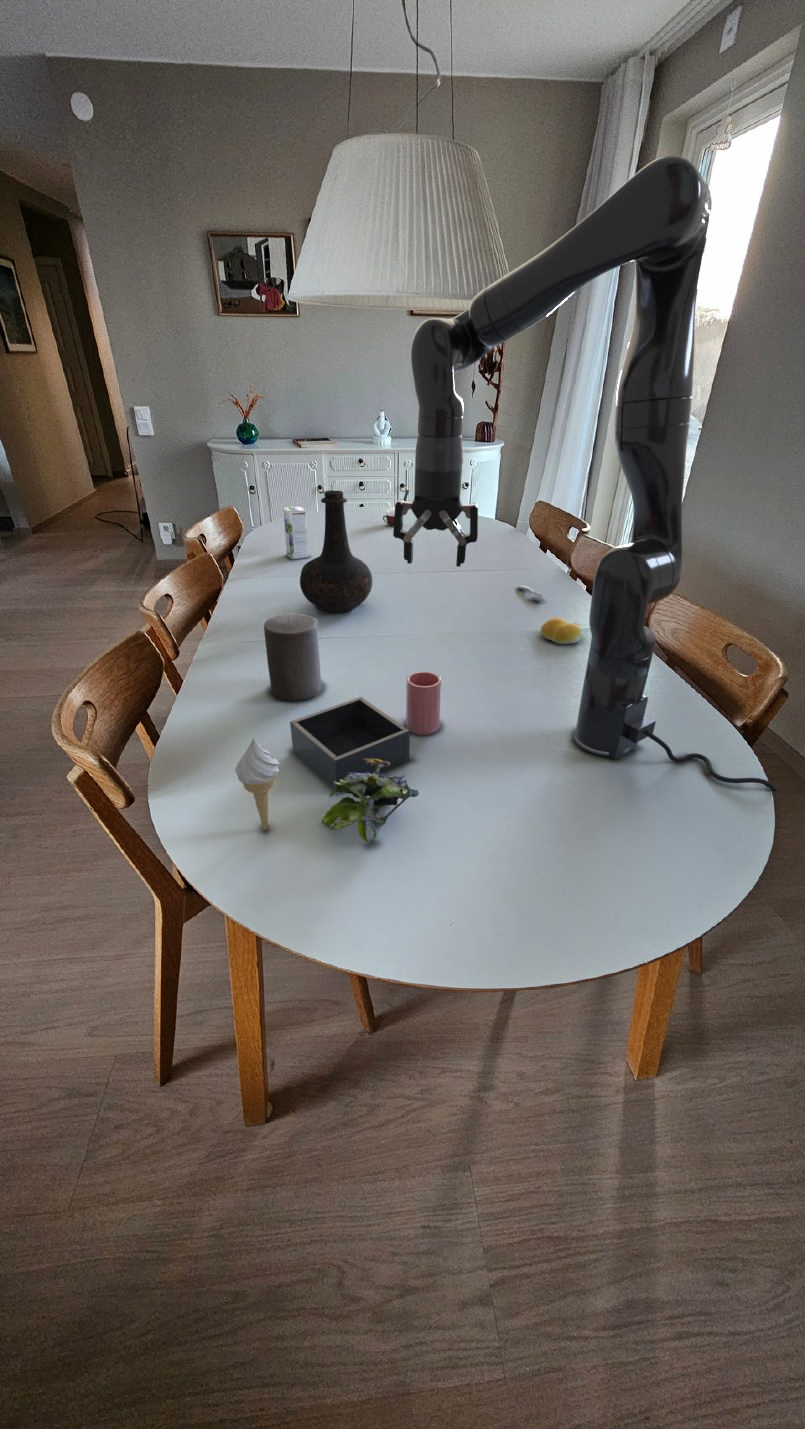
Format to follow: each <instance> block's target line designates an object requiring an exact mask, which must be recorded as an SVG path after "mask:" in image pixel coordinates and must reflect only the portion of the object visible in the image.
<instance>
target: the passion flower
mask: <svg viewBox="0 0 805 1429" xmlns="http://www.w3.org/2000/svg"><path fill="white" fill-rule="evenodd" d="M363 762H365V763H367V764H368V765H375V767H376V772H375V773H374V772H373V774H369V773H368V772H366V773H367V774H365V773H362V774H360V773H357V772H356V773H355V772H353V773H350V772H349V774H350V775H347V777H346V778H344V779H345V780H346V781H344V780H342V779H341V780H340V784H339V783H337V782H334V785H335V787H336V788H335V789H334V788H333V789H332V790H331V791H330V792H329V794H328V798H329V799H330V798H332V797H334V796H339V795H344V794H348V795H352V796H353V798H352V797H350V796H348V795H347V796H344V797H342V798H341V799H340V800H339V801H338V802H336V803H335V804H333V805H332V806H331V807H330V808H329V810H327V811H326V813H325V814H324V816H323V818H322V819H321V824H322V825H324V826H325V827H328V828H329V829H330V830H332V831H338V830H342V829H343V828H346V827H349V826H350V825H352V824H355V823H357V825H356V828H357V831H358V834H359V836H360V838H361V839H362V840H363V841H364V842H365V843H368V841H369V838H368V833H367V826H368V823H370V829H371V830H372V832H373V835H372V839H371V841H370V843H369V845H373V844H374V842H375V840H376V838H377V835H378V833H379V831H380V830H381V828H382V827H383V826H384V825H385V824H386V823H387V819H388V818H389V817H390V816H391V815H392V814H393V813H394V812H395V811H396V810H397V809H398V808H399V807H400V806H401V805H402V804H404V803H405V802H406V801H407V800H408V798H411V797H412V798H416V797H417V796H419V795H420V793H419V790H418V789H414V788H410V787H409V785H408V780H407V779H403V778H405V775H398V776H397V775H390V776H388V775H385V774H383V773H379V769H380V768H382V767H388V766H390V763H389V762H387V761H385V760H379V759H372V758H364V759H363ZM354 798H356V799H359V800H355V799H354ZM399 799H401V801H400V802H399V803H398V800H399ZM372 804H373V812H374V813H373V812H371V810H370V806H371V805H372ZM384 806H393V808H392V809H391V810H390V811H389V812H388V813H386V815H384V816H378V814H377V809H376V807H378V808H382V807H384ZM367 816H370V817H372V819H369V818H368V817H367Z"/></svg>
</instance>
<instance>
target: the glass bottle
mask: <svg viewBox="0 0 805 1429" xmlns="http://www.w3.org/2000/svg"><path fill="white" fill-rule="evenodd" d="M323 494H324V497H322V498H321V499H320V502H321V503H322V504H324V537H323V538H324V539H323V546H322V550H321V553H320V555H319V556H317V557H315V558H313V559H311V560H309V561H307V562H306V563H305V564H304V565H303V566H302V568H301V571H300V575H299V576H300V577H299V587H300V590H301V592H302V594H303V596H304V597H305V598H306V600H307V601H308V602H309V603H310V604H312V606H314V607H316V608H318V609H320V610H322V611H326V612H331V613H342V612H343V613H344V612H348V611H352V610H354V609H356V608H357V607H360V605H361V604H363V603H364V602H365V601H366V599H367V598H368V597H369V595H370V593H371V591H372V588H373V575H372V572H371V570H370V567H369V566H368V565H367V564H366V563H365V562H363V560H361V559H360V558H358V557H356V556H354V555H353V554H352V552H351V547H350V544H349V540H348V533H347V526H346V525H347V524H346V516H345V504H346V503H347V501H348V499H347V498H345V497H344V491H342V490H331V489H330V490H326V491H324V492H323Z"/></svg>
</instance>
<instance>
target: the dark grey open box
mask: <svg viewBox="0 0 805 1429" xmlns="http://www.w3.org/2000/svg"><path fill="white" fill-rule="evenodd" d="M289 724H290V727H289V728H290V736H291V744H292V752H294V753H295V754H296V755H297V756H298V757H299V758H300V759H301V760H302V761H303V762H305V763H306V764H307V765H308V766H309V767H310V768H311V769H312V770H313V771H314V772H315V773H316V774H317V775H319V777H321V778H322V779H323V781H325V782H326V783H327V784H328V785H329V786H330V787H332V788H333V790H334V789H335V788H336V787H335V785H334V782H337V783H339V784H340V780H341V779H342V780H344V781H346V780H345V779H344V778H346V777H347V775H350V774H349V772H350V773H353V772H355V773H356V772H357V773H360V774H362V773H365V774H367V773H366V772H368V773H369V774H373V772H374V773H375V772H376V767H375V765H368V764H367V763H365V762H363V759H364V758H372V759H379V760H385V761H387V762H389V763H390V766H388V767H382V768H380V769H379V773H380V774H382V773H384V772H385V771H388V770H390V769H392V768H394V767H397V766H399V765H401V764H404V763H406V762H409V761H410V747H411V746H410V742H411V740H410V737H411V735H410V734H411V732H410V731H409V730H408V729H407V727H405V726H403V725H402V724H401V723H399V722H398V721H396V720H395V719H394V718H392V717H390V716H389V715H388V714H387V713H385V712H384V711H382V710H381V709H379V708H378V707H376V706H375V705H374V704H372V703H371V702H369V701H368V700H366V699H365V698H364V697H362V696H359V697H356V698H352V699H351V700H348V701H344V702H342V703H339V704H336V705H333V706H330V707H328V708H324V709H322V710H319V711H316V712H314V713H313V712H312V713H310V714H307V715H305V716H302V717H298V718H296V719H293V720H290V721H289Z"/></svg>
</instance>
